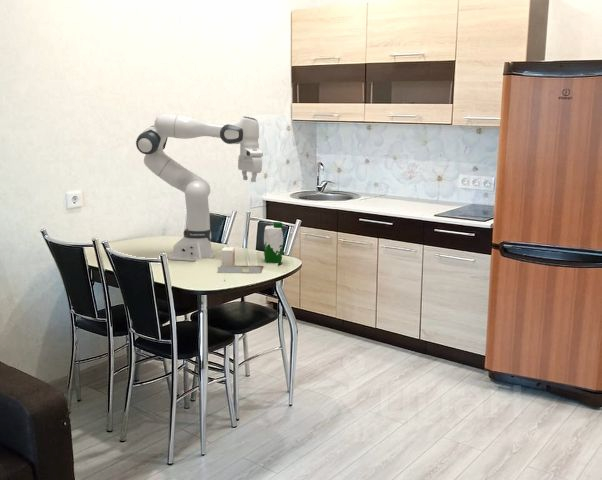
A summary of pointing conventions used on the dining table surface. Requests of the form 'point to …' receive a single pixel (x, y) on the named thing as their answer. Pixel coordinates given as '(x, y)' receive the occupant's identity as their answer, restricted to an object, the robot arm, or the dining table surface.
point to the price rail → (238, 269)
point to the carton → (228, 257)
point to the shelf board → (249, 266)
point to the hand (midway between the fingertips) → (249, 181)
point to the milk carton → (273, 243)
